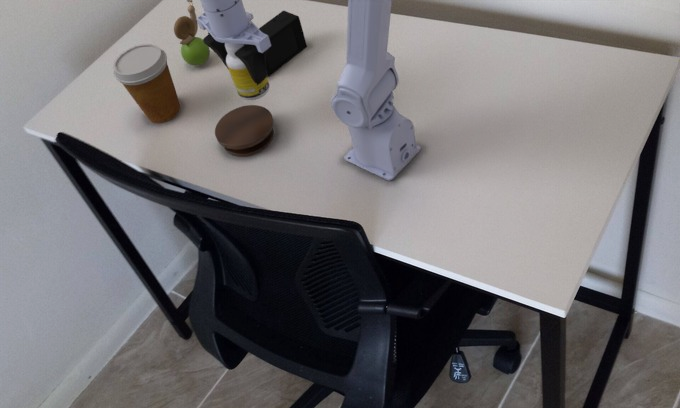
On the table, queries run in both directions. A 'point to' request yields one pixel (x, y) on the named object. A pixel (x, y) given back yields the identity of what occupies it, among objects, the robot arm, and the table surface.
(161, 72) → the disposable coffee cup
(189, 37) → the snail figurine
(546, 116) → the table surface
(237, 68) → the supplement bottle
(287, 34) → the digital camera
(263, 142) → the stand
